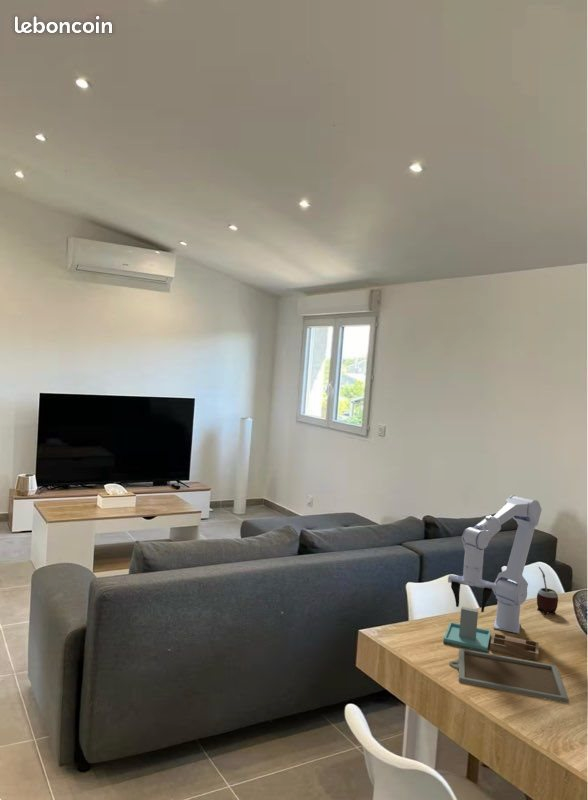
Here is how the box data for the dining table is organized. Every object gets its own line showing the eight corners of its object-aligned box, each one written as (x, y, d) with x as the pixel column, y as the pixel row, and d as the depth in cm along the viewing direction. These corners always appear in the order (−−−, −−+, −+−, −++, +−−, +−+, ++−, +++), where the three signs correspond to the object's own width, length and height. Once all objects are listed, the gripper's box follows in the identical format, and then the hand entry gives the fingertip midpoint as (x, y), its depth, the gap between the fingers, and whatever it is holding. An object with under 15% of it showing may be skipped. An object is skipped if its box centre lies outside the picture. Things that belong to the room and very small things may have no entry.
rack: (492, 639, 189) (492, 632, 189) (538, 649, 184) (538, 642, 184) (490, 650, 182) (490, 643, 181) (537, 660, 176) (538, 653, 176)
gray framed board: (568, 698, 153) (448, 676, 161) (567, 705, 153) (448, 681, 162) (556, 665, 172) (450, 646, 180) (556, 670, 172) (449, 651, 180)
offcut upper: (504, 642, 184) (504, 636, 184) (525, 646, 182) (525, 640, 182) (504, 646, 181) (504, 639, 181) (525, 650, 179) (525, 644, 179)
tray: (449, 626, 197) (450, 621, 197) (490, 635, 192) (491, 630, 192) (443, 642, 184) (443, 638, 184) (486, 652, 179) (487, 647, 179)
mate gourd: (555, 617, 211) (558, 576, 211) (531, 611, 215) (535, 571, 215) (558, 611, 218) (561, 571, 217) (535, 605, 222) (538, 566, 221)
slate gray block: (459, 634, 190) (461, 606, 190) (476, 637, 188) (478, 610, 188) (459, 636, 188) (461, 608, 188) (475, 640, 186) (477, 612, 186)
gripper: (448, 565, 187) (444, 607, 187) (496, 574, 181) (492, 617, 182) (451, 559, 193) (448, 600, 194) (497, 567, 188) (494, 609, 188)
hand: (469, 608), depth 188 cm, fingers open, 7 cm apart
